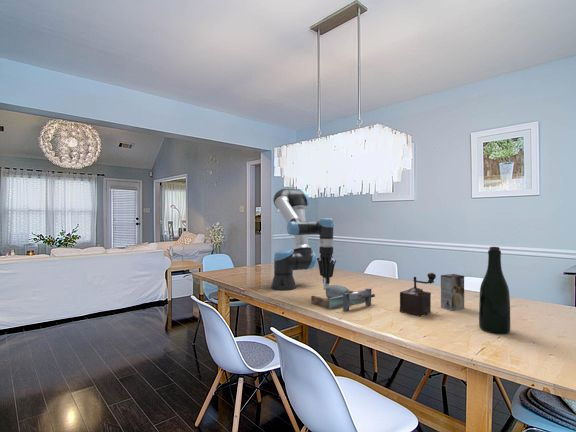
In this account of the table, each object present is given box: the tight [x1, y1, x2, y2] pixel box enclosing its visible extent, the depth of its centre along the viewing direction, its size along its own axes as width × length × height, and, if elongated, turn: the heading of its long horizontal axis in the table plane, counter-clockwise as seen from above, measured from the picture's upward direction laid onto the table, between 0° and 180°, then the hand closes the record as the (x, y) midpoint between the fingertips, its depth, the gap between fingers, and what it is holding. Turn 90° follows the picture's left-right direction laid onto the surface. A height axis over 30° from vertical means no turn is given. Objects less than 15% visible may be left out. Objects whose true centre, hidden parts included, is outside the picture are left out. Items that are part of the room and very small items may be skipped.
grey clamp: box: [342, 288, 376, 312], centre depth 159 cm, size 4×21×8 cm, turn 126°
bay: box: [310, 289, 365, 310], centre depth 169 cm, size 14×26×5 cm, turn 126°
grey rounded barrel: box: [325, 284, 350, 300], centre depth 171 cm, size 14×10×10 cm
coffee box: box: [440, 273, 465, 311], centre depth 158 cm, size 9×6×16 cm
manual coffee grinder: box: [399, 272, 437, 317], centre depth 153 cm, size 16×11×18 cm
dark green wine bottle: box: [478, 246, 511, 335], centre depth 127 cm, size 10×10×33 cm
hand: (326, 289), depth 176 cm, fingers closed
